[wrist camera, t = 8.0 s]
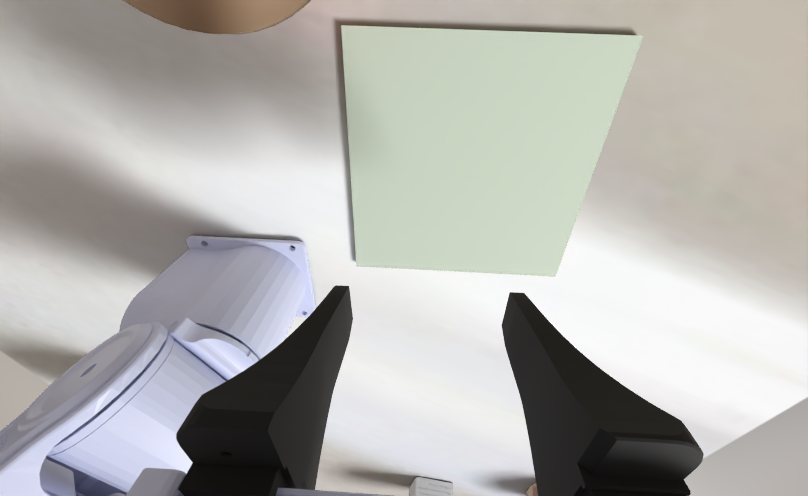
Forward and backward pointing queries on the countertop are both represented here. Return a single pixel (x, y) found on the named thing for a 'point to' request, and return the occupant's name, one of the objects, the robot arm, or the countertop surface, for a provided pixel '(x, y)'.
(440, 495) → the skincare box
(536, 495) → the figurine
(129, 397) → the robot arm
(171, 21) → the lid
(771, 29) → the countertop surface
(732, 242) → the countertop surface
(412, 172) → the mat
